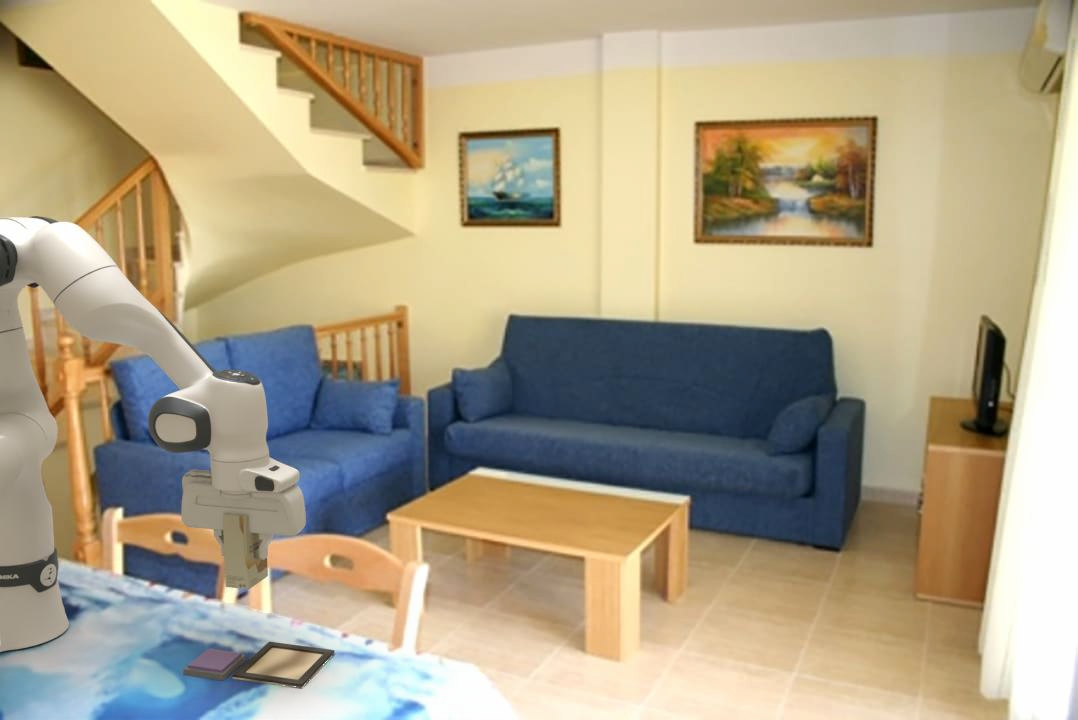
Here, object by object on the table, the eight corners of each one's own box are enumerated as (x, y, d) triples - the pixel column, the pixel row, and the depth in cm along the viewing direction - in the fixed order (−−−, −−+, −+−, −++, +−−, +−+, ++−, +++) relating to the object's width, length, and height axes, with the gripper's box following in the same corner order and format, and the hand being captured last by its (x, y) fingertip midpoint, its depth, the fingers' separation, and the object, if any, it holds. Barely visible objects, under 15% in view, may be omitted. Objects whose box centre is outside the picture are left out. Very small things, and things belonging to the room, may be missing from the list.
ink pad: (183, 674, 150) (183, 666, 150) (207, 655, 157) (207, 646, 156) (223, 680, 149) (222, 671, 148) (246, 660, 155) (245, 652, 155)
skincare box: (249, 591, 147) (245, 516, 145) (224, 588, 148) (220, 514, 146) (269, 575, 154) (266, 503, 152) (245, 572, 155) (242, 501, 153)
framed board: (232, 678, 149) (232, 674, 149) (269, 645, 161) (269, 641, 161) (301, 688, 147) (301, 684, 147) (334, 654, 158) (334, 650, 158)
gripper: (170, 473, 147) (175, 557, 149) (289, 483, 142) (293, 569, 145) (193, 463, 153) (198, 544, 155) (308, 471, 148) (311, 555, 151)
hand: (244, 556), depth 150 cm, fingers closed on skincare box, 4 cm apart
